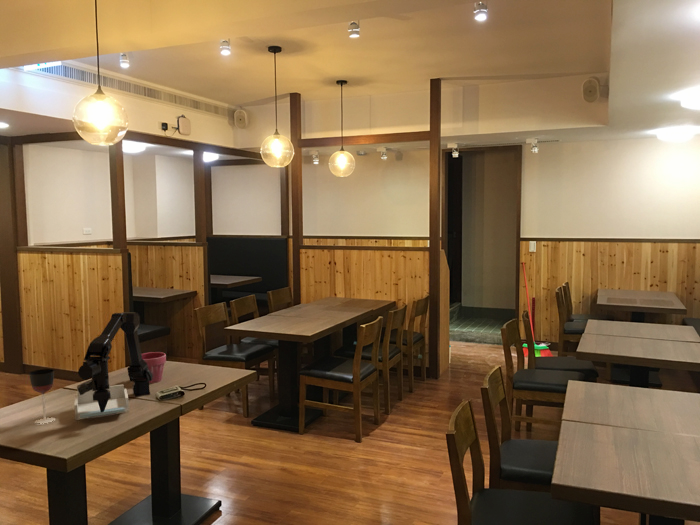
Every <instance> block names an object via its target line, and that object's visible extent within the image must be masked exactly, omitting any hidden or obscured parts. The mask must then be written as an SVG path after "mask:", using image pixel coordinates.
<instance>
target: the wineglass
mask: <svg viewBox="0 0 700 525" xmlns="http://www.w3.org/2000/svg"><path fill="white" fill-rule="evenodd" d="M28 375H29V380H30V381H29V382H30V385H31V389H32V390H33V391H34V392H36V393H40V394H41V397H42V398H41V400H42V410H43V411H42V413H43V419H42V418H39V419H40V420H39V419H37V420H38V421H37V420H36V421H37V423H40V424H39V425H45V424H44V423H47V424H49V423H48V422H51V423H53V422H55V421H56V418H55V417H51V418H49V417H46V400H45V393H47V392H48V391H50V390H51V389H52V388H53V385H54V381H55V370H54V369H52V368H42V369H36V370H33V371H30V372H28ZM53 420H54V421H53ZM52 421H53V422H52ZM42 423H43V424H42Z"/></svg>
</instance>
